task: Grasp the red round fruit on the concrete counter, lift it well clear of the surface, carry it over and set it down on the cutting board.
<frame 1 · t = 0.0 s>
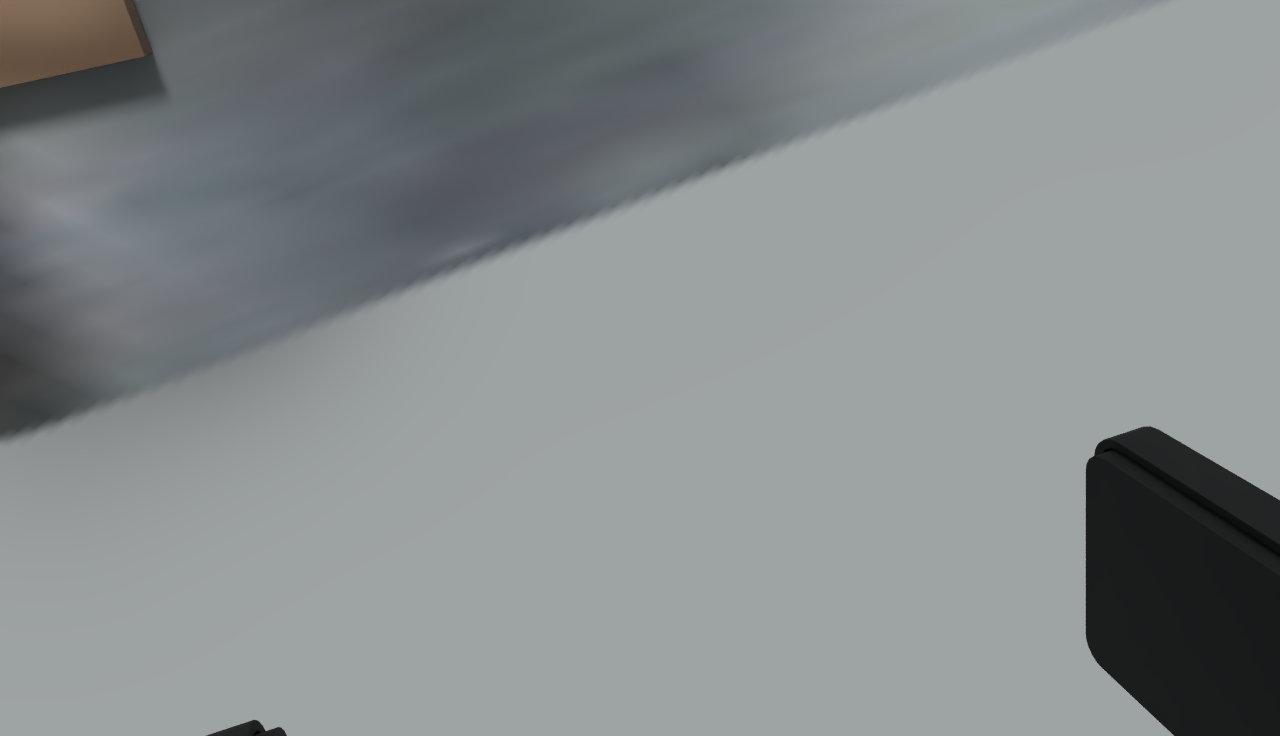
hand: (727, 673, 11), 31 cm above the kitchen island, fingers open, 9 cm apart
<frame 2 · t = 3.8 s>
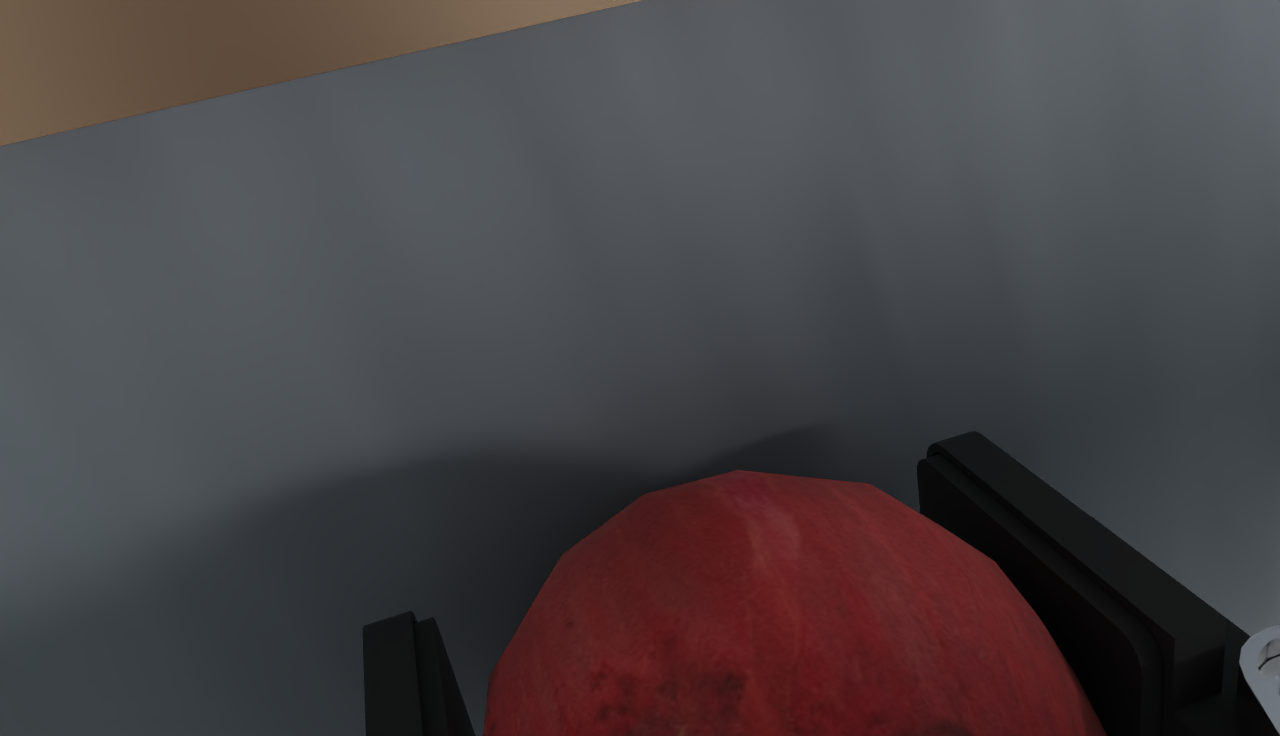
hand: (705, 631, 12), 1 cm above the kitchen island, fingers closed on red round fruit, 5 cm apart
red round fruit: (667, 559, 13), on the kitchen island, touching gripper
when the fingers open (4 cm above the kitchen island, at t = 11.4 s): red round fruit stays where it is, resting on cutting board.
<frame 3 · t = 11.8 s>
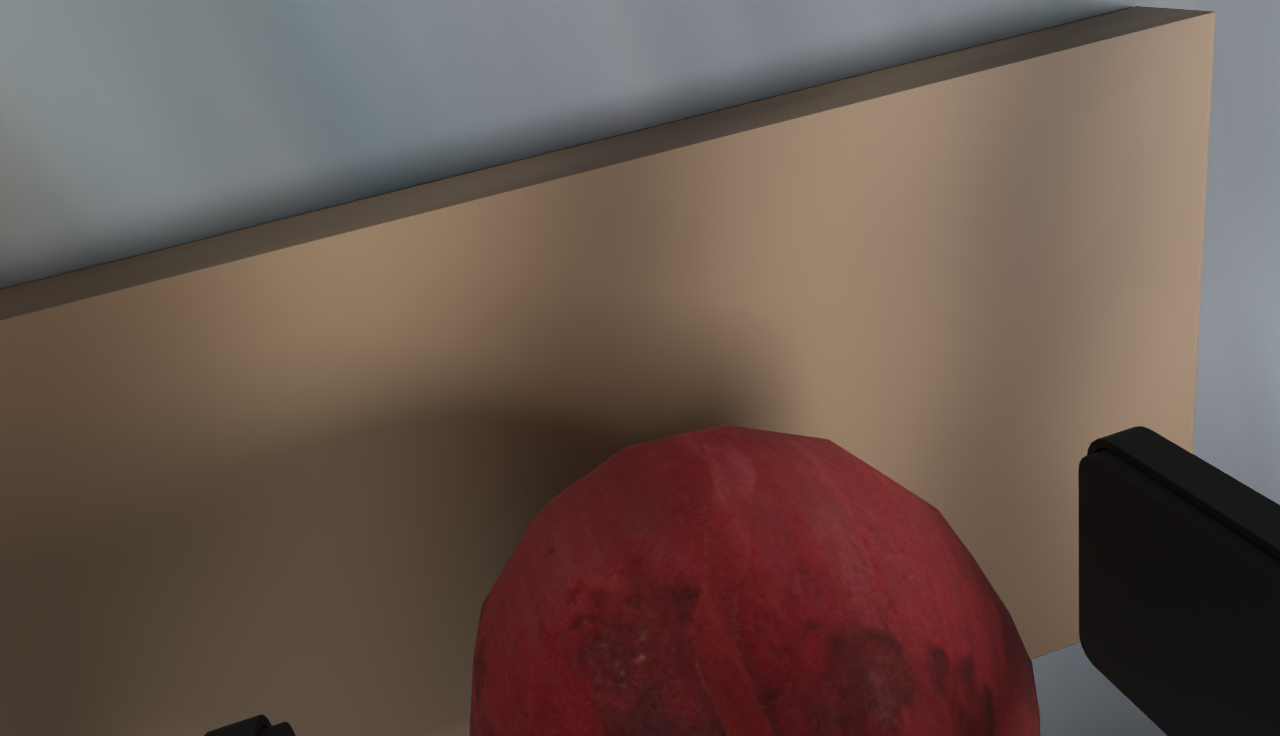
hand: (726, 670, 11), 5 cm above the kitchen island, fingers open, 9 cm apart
cutting board: (620, 473, 15), on the kitchen island
red round fruit: (652, 519, 14), point 1 cm above the kitchen island, touching cutting board
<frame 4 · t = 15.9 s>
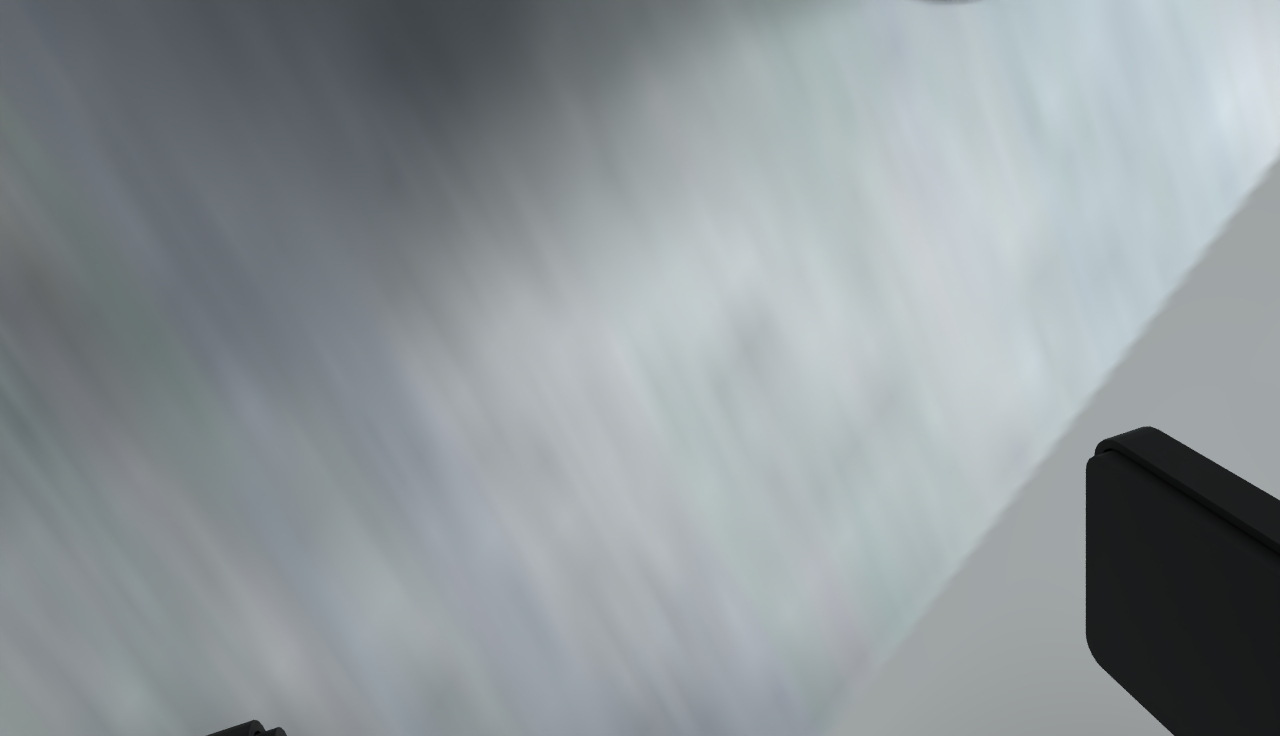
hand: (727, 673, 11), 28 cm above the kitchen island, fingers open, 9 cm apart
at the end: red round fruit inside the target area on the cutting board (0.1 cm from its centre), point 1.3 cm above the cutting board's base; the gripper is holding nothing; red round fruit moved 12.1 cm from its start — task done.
